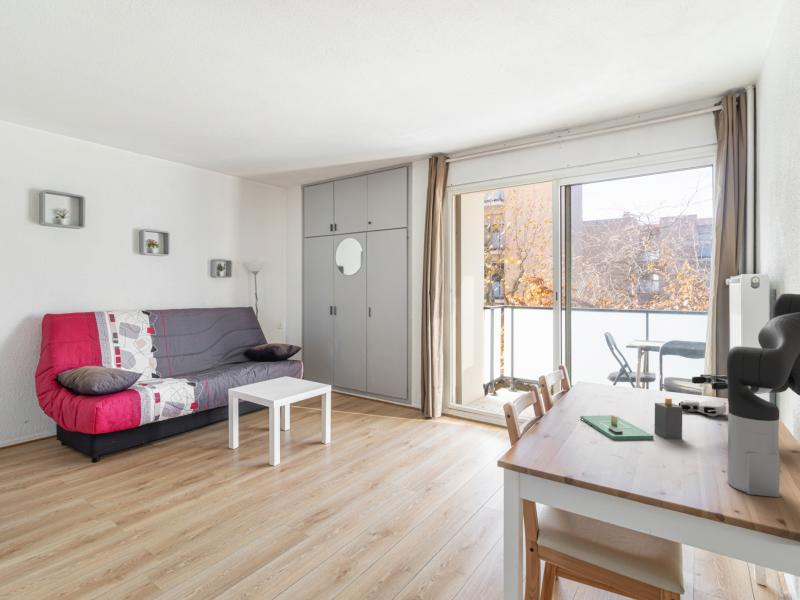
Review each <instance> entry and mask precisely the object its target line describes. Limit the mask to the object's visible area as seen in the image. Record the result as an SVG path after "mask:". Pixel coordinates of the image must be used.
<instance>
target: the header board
mask: <svg viewBox="0 0 800 600" xmlns="http://www.w3.org/2000/svg"><path fill="white" fill-rule="evenodd" d="M580 418H581V419H583V420H584V421H586V422H587V423H588V424H587V423H586V422H585V423H586V424H587V425H589V424H590V425H592V426H593V427H594V429H595V428H596V429H595V430H597V431H598V432H600V433H601V434H602V435H605V436H606V437H607V438H609V439H611V440H612V441H634V440H635V441H637V440H638V441H640V440H641V441H645V440H649V441H650V440H653V441H654V435H653V434H651V433H649V432H647V431H646V430H644V429H641V428H640V427H638V426H636V425H634V424H632V423H631V422H628V421H627V420H624V419H623V418H621V417H619V416H617V415H614V414H611V415H580V417H579V419H580ZM581 419H580V420H581ZM583 420H582V421H583ZM584 421H583V422H584ZM590 425H589V426H590ZM592 426H591V427H592ZM593 427H592V428H593Z"/></svg>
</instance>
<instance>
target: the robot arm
mask: <svg viewBox="0 0 800 600" xmlns="http://www.w3.org/2000/svg"><path fill="white" fill-rule="evenodd" d="M772 313H773V314H772V315H773V318H771V319H770V320H768V321H767V322H766V323H765V324H764V326H763V327H762V328H761V329H760V331H759V333H758V336H757V341H758V344H759V346H760V347H752V346H750V347H749V346H741V345H740V346H737V345H736V346H733V347H731V348H730V349H729V351H728V353H727V356H726V374H722V375H719V374H703V373H702V374H700V376H692V377H691V383H692V384H696V385H697V384H699V385H700V384H705V385H711V389H712V390H715V391H716V390H717V391H720V390H725V391H727V401H728V402H727V404H728V407H727V409H728V411H727V412H728V413H727V415H728V417H727V419H728V420H727V423H728V424H727V477H726V478H727V484H728V485H729V486H731V487H733V489H734V488H735V489H737V490H739V491H742V492H744V493H746V495H750V496H751V495H752V496H765V497H772V498H773V497H775V498H779V497H780V478H781V477H780V476H781V473H780V471H781V466H780V465H781V456H780V455H779V439H780V437H779V435H780V434H779V431H780V409H779V407H778V406H777V405H776V404H774V403H773V402H770V401H769V400H766V399H764V398H761V397H760V396H758V395H760V394H772V393H773V394H775V393H784V392H786V391H787V390H788V389H789V390H791V391H792V392H793V393H795V394H797V396H799V397H800V293H781V294H779V295H778V296H777V297H776V299H775V300H774V304H773V311H772ZM757 394H758V395H757Z"/></svg>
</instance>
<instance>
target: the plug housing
mask: <svg viewBox="0 0 800 600" xmlns="http://www.w3.org/2000/svg"><path fill="white" fill-rule="evenodd" d="M672 400H673V399H672V398H670V397H665V398H664V402H655V403H654V434H655V435H657V436H660V437H661V438H663V439H664V440H665V439H666V440H668V439H670V440H671V439H675V440H676V439H678V440H679V439H681V440H682V438H683V410H682V407H681V406H679V404H675V403H673V401H672Z"/></svg>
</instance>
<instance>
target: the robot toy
mask: <svg viewBox="0 0 800 600" xmlns="http://www.w3.org/2000/svg"><path fill="white" fill-rule="evenodd" d="M726 404H727V402H721V401H720V402H719V401H710V400H709V401H708V400H707V401H701V402H699V401H698V400H690V399H688V400H684V401H680V402H678V406H681V407H682V411H686V413H687V412H688V413H692V412H695V413H697V412H698V411H699V412H700V413H701V414H705V415H707V416H709V417H711V418H713V417H717V416H720V415H723V414H725V413H726V412H727V408H726V407H727V406H726Z"/></svg>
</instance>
